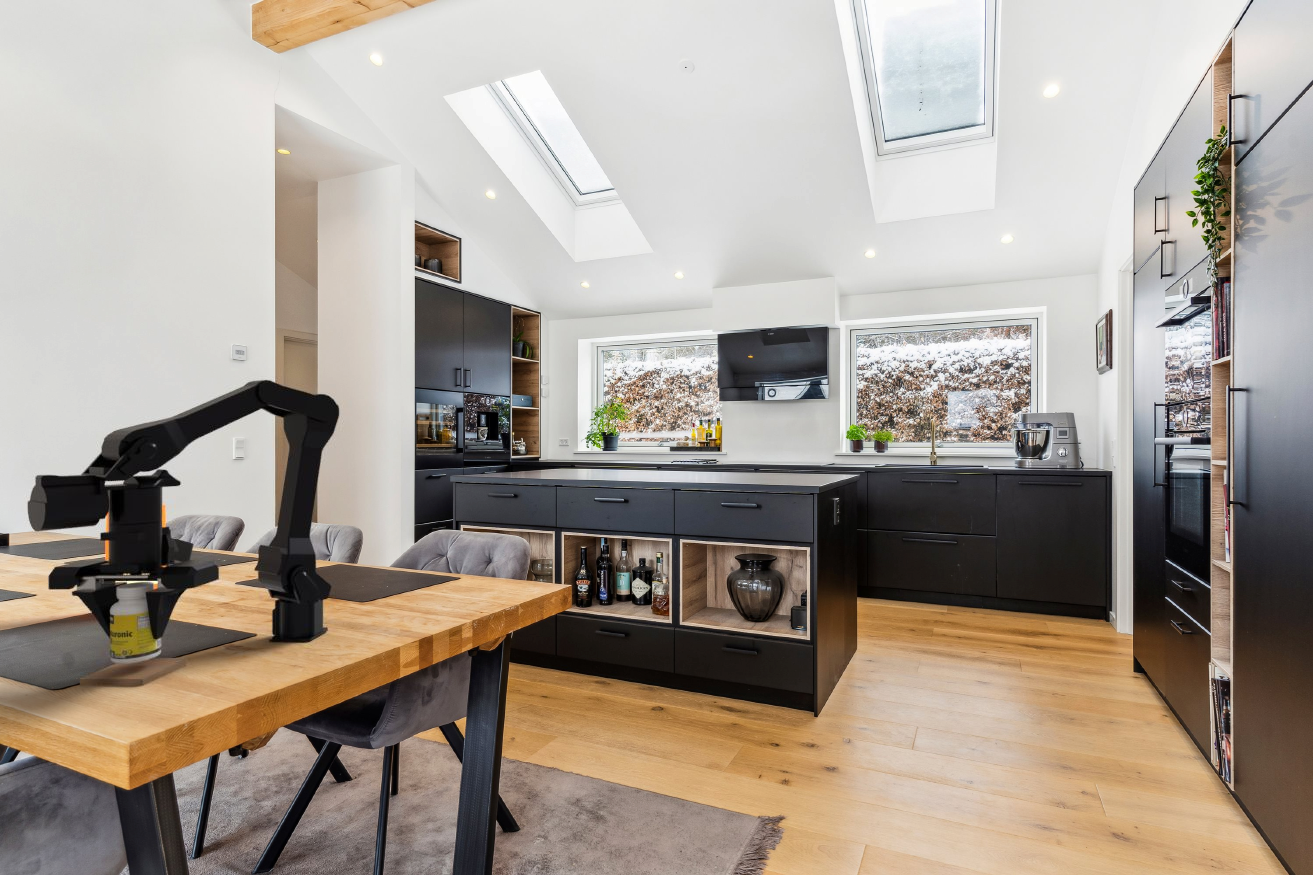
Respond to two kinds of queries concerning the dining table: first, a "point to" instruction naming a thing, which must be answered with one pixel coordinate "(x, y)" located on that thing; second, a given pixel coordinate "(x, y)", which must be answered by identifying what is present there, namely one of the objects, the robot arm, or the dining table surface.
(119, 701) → the dining table surface
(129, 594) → the supplement bottle
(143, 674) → the walnut slab
